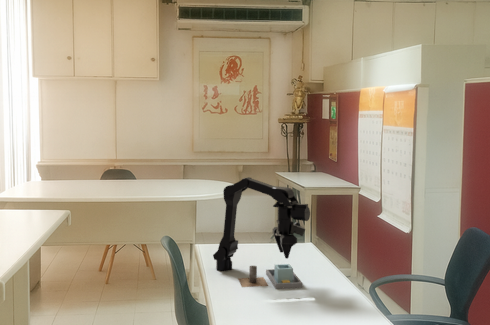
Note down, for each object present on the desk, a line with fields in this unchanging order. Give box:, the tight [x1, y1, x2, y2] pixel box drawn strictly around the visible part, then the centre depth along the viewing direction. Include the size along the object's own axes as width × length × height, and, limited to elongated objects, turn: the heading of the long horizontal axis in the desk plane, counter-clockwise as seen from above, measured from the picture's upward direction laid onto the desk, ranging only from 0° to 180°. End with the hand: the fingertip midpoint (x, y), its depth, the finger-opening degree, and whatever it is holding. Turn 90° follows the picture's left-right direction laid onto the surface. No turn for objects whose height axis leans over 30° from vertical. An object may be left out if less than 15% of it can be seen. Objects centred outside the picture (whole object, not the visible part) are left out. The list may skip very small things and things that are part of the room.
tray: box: [265, 268, 304, 290], centre depth 208 cm, size 11×19×3 cm, turn 9°
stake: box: [237, 265, 269, 288], centre depth 205 cm, size 11×11×8 cm
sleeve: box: [274, 263, 294, 283], centre depth 206 cm, size 8×6×6 cm
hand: (284, 255), depth 207 cm, fingers open, 9 cm apart
